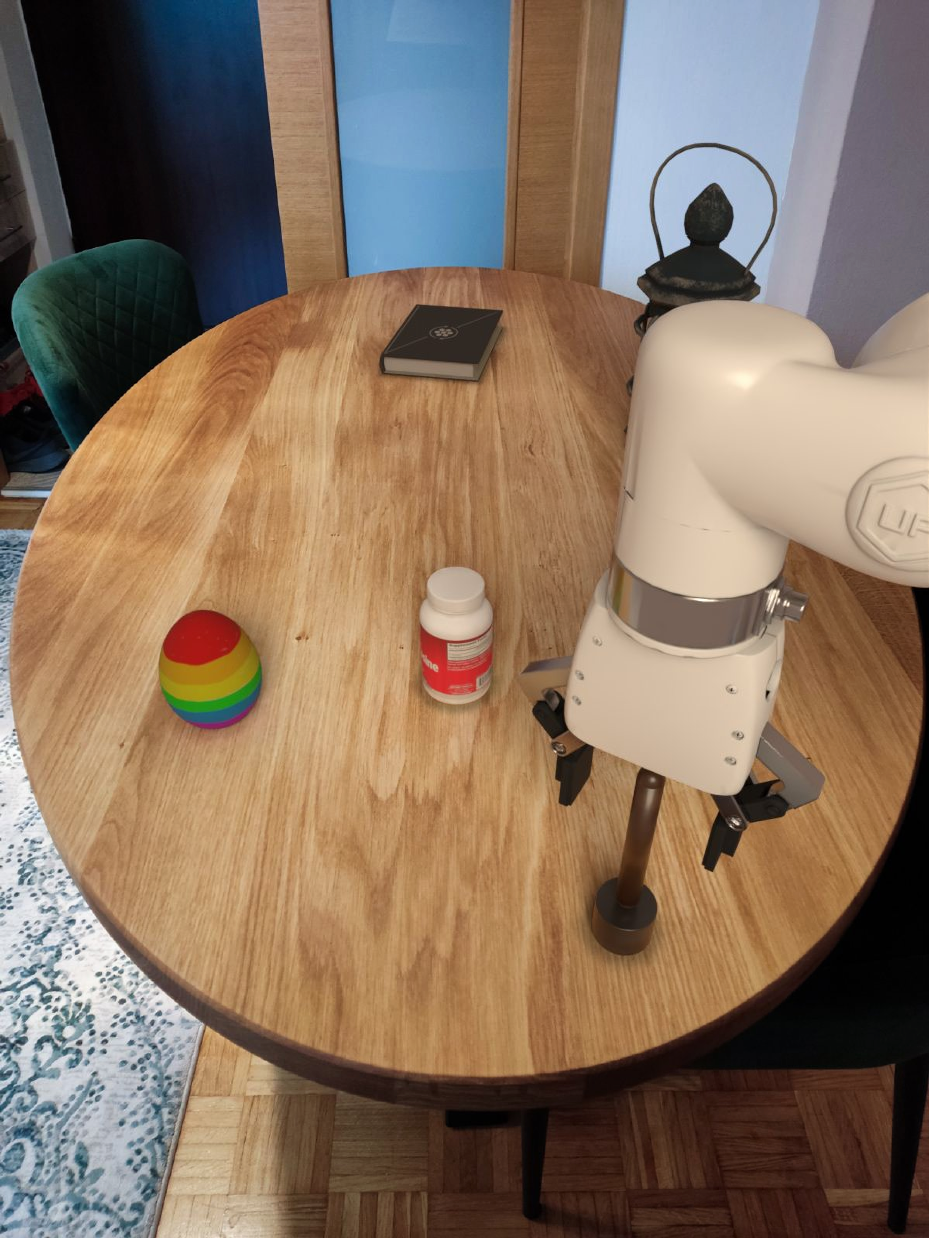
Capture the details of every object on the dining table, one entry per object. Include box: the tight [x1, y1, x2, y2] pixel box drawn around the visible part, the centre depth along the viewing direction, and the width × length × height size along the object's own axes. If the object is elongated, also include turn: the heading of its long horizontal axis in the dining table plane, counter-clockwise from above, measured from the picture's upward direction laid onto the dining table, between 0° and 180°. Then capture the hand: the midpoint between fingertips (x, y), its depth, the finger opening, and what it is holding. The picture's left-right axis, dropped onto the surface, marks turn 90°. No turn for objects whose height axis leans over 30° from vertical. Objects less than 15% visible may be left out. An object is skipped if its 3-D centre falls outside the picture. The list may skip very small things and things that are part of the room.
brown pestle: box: [591, 767, 667, 957], centre depth 54 cm, size 4×4×16 cm
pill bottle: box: [418, 566, 494, 705], centre depth 74 cm, size 6×6×11 cm
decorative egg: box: [158, 609, 263, 730], centre depth 72 cm, size 8×8×10 cm
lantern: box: [623, 142, 778, 436], centre depth 101 cm, size 14×13×35 cm
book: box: [378, 303, 504, 383], centre depth 136 cm, size 22×15×3 cm
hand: (642, 819), depth 52 cm, fingers open, 8 cm apart
